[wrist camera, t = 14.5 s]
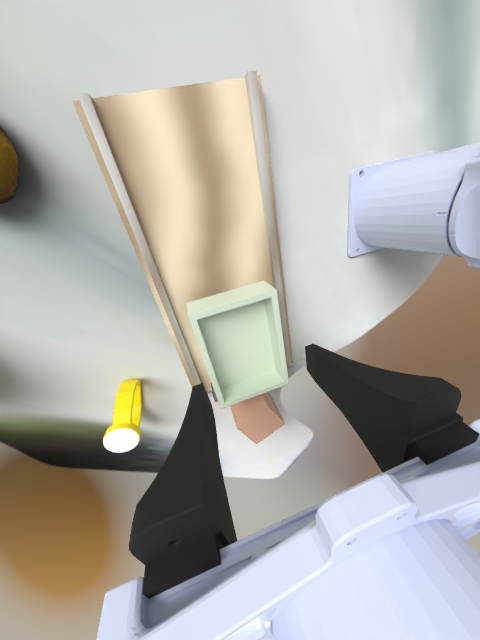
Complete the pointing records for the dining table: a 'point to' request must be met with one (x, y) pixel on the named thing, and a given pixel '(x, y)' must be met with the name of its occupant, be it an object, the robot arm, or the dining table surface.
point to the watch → (125, 418)
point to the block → (257, 417)
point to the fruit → (7, 168)
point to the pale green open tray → (241, 341)
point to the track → (192, 195)
